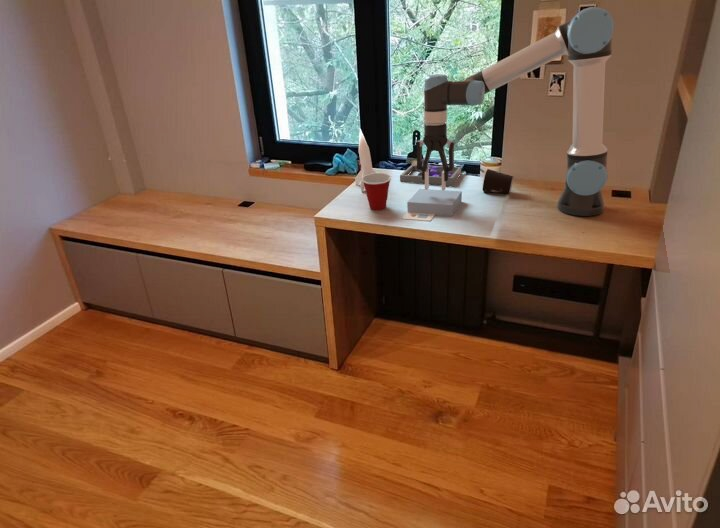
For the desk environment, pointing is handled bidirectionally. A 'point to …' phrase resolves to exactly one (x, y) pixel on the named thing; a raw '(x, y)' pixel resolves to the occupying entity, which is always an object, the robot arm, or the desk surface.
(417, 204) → the base brick
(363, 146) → the rocket
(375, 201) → the plastic cup
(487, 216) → the desk surface
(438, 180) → the tray
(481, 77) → the robot arm
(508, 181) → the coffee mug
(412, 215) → the page
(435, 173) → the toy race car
